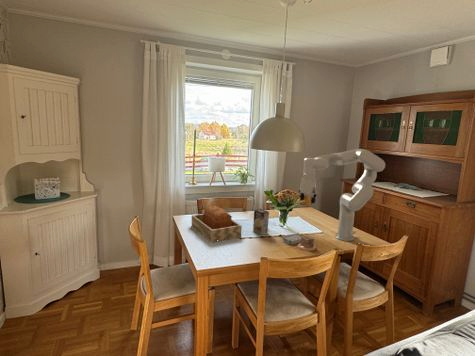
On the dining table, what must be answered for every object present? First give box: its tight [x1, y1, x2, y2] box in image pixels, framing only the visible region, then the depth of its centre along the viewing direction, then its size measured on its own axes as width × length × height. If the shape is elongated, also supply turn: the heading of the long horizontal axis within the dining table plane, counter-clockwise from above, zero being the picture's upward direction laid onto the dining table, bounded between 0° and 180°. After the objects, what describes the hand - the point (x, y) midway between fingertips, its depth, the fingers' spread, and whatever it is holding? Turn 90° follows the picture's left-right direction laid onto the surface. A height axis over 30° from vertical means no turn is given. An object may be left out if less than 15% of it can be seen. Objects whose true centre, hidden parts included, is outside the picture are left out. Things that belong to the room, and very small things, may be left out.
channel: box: [282, 232, 301, 245], centre depth 189 cm, size 14×9×2 cm, turn 121°
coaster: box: [297, 242, 316, 252], centre depth 179 cm, size 11×11×1 cm
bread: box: [202, 205, 233, 230], centre depth 203 cm, size 14×26×16 cm, turn 28°
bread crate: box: [191, 213, 243, 243], centre depth 200 cm, size 22×34×8 cm, turn 31°
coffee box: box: [252, 208, 270, 236], centre depth 200 cm, size 9×6×16 cm
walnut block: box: [300, 235, 315, 248], centre depth 179 cm, size 6×6×6 cm
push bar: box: [283, 235, 302, 245], centre depth 187 cm, size 12×5×3 cm, turn 123°
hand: (307, 201), depth 190 cm, fingers open, 9 cm apart
